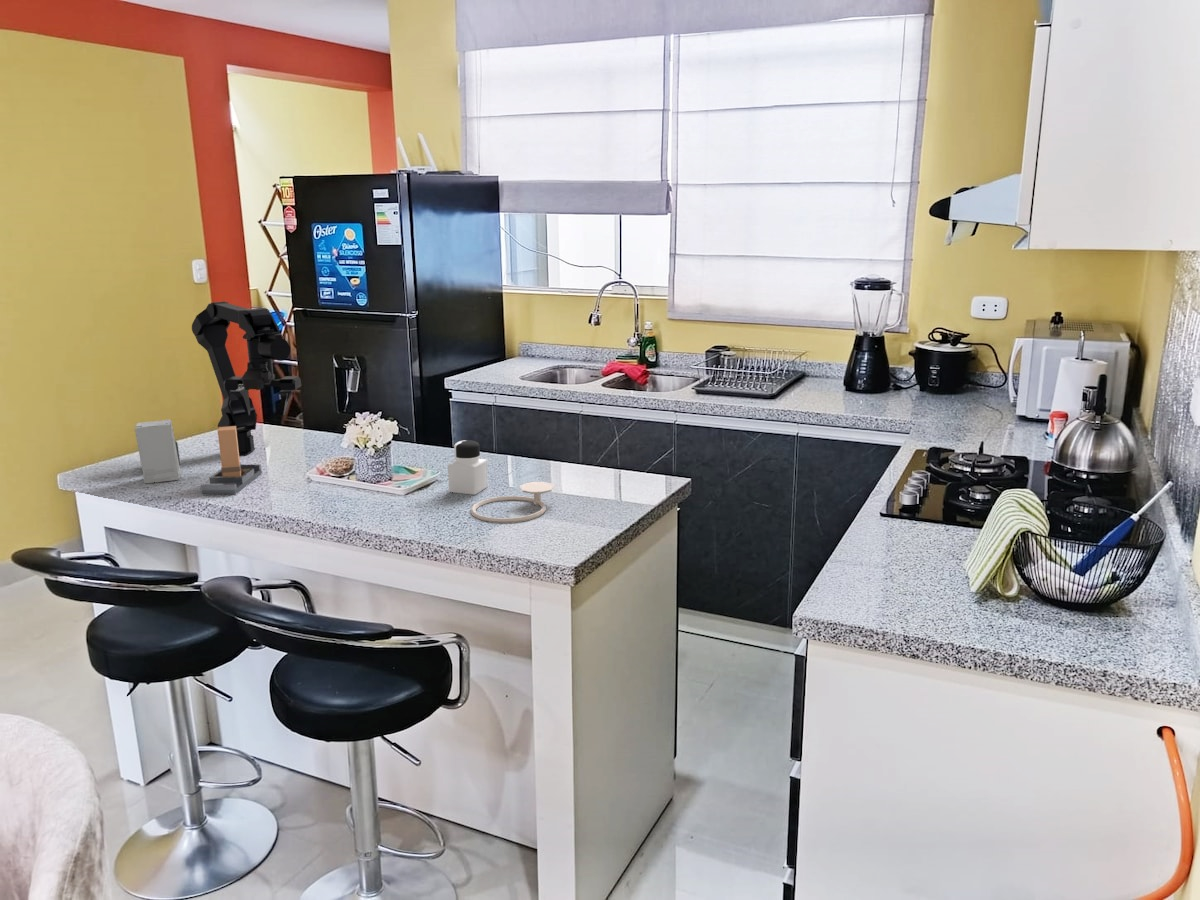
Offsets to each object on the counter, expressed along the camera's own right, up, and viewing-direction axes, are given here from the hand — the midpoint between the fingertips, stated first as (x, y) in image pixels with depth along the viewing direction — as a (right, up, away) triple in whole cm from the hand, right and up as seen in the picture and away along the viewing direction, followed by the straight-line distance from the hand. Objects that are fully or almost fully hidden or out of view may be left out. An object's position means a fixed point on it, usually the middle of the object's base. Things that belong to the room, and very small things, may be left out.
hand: (265, 415), depth 243 cm
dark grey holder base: (-2, -18, -16) cm, 24 cm away
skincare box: (-22, -17, -12) cm, 30 cm away
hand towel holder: (+70, -23, -36) cm, 82 cm away
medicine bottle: (+57, -19, -21) cm, 64 cm away
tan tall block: (-2, -17, -16) cm, 23 cm away
